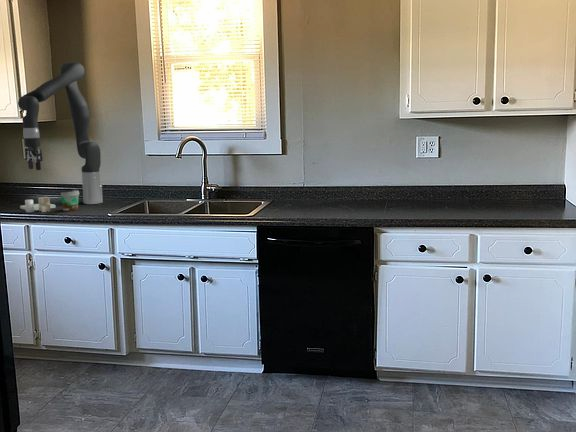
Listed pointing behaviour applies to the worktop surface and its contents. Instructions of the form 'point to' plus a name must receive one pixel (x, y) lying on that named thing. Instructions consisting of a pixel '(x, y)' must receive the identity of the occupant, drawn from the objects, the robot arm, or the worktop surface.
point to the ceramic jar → (29, 205)
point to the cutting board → (37, 206)
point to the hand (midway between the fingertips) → (34, 169)
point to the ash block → (44, 204)
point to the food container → (70, 200)
